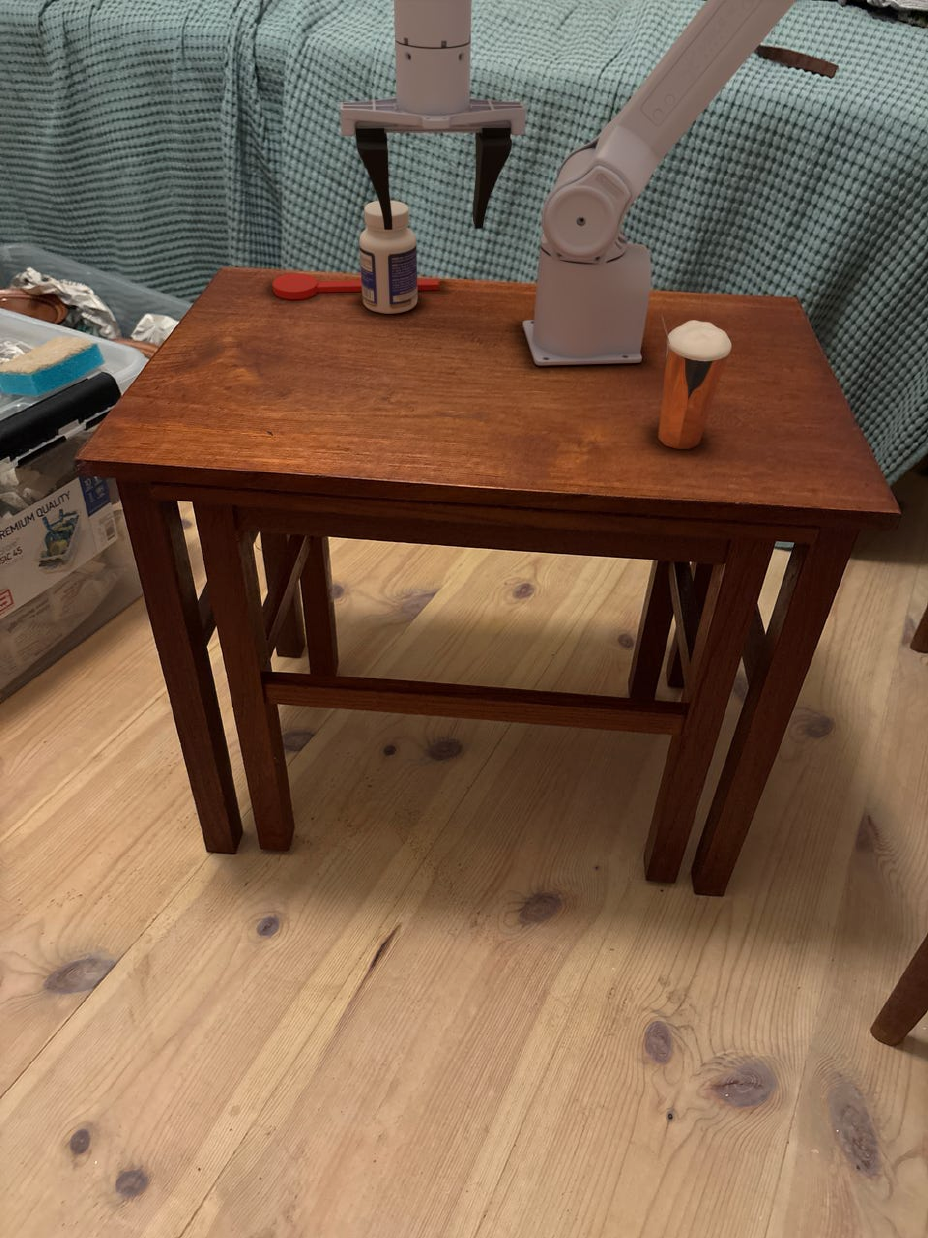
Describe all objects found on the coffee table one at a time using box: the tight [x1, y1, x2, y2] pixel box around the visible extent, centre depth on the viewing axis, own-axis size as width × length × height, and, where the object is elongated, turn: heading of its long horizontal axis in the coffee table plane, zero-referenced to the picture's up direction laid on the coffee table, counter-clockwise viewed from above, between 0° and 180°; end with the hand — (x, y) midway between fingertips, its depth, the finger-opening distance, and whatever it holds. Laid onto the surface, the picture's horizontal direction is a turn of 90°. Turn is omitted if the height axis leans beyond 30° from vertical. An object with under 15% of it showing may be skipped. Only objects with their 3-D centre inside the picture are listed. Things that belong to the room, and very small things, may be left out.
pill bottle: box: [358, 200, 418, 315], centre depth 86 cm, size 5×5×9 cm
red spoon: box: [272, 272, 440, 300], centre depth 90 cm, size 16×4×1 cm, turn 96°
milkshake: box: [657, 316, 732, 450], centre depth 69 cm, size 4×5×10 cm
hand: (433, 224), depth 79 cm, fingers open, 7 cm apart
